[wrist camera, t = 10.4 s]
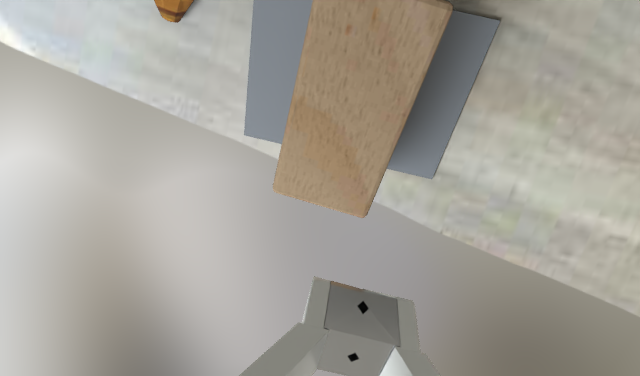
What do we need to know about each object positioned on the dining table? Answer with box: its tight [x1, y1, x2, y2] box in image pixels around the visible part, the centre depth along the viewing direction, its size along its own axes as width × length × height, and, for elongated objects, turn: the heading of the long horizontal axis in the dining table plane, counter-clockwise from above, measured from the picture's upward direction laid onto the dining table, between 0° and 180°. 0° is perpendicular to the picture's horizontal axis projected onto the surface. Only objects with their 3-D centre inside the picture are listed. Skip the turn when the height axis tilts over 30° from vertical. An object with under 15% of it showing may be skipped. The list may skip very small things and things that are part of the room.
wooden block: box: [273, 0, 453, 218], centre depth 33 cm, size 10×10×20 cm
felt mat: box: [244, 0, 500, 179], centre depth 37 cm, size 24×18×1 cm
